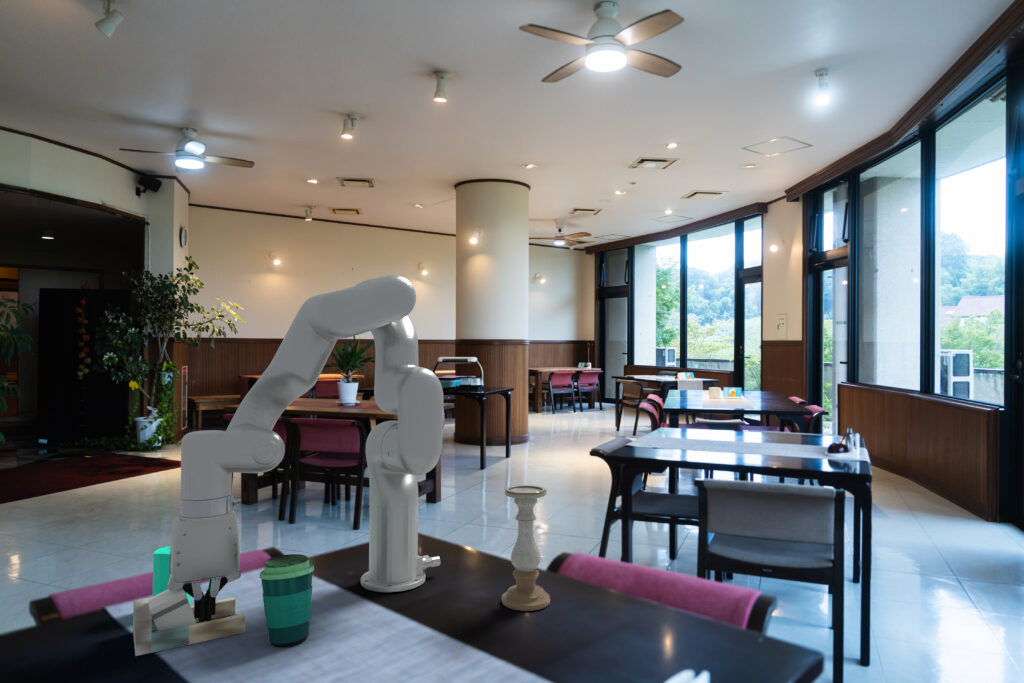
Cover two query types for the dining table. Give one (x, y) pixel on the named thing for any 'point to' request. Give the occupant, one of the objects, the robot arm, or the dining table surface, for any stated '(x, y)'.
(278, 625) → the cup
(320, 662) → the dining table surface
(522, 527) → the candle holder
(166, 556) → the candle
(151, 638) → the guide channel
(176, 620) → the striped cream block
